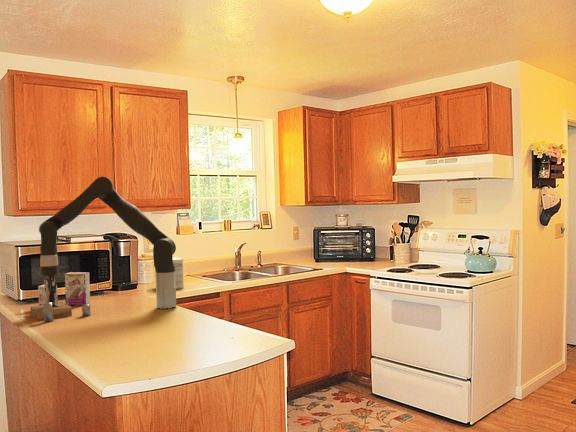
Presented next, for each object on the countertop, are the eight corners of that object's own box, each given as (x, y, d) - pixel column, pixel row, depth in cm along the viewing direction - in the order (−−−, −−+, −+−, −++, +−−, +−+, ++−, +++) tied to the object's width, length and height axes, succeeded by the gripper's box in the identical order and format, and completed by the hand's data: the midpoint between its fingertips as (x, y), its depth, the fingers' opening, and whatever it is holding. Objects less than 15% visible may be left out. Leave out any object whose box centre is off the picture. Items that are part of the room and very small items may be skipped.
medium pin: (53, 321, 222) (52, 303, 222) (44, 322, 220) (43, 304, 220) (52, 319, 225) (51, 301, 225) (43, 321, 223) (42, 303, 223)
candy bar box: (65, 305, 258) (63, 273, 258) (70, 303, 263) (69, 272, 262) (86, 305, 257) (84, 273, 256) (90, 303, 262) (89, 271, 261)
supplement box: (157, 287, 311) (156, 258, 310) (179, 285, 316) (178, 257, 316) (161, 290, 299) (160, 260, 298) (184, 288, 304) (183, 258, 304)
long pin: (56, 310, 235) (55, 284, 235) (47, 311, 233) (46, 285, 232) (54, 309, 238) (53, 284, 237) (45, 310, 235) (44, 284, 235)
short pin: (91, 315, 232) (91, 304, 232) (83, 316, 230) (83, 305, 230) (89, 314, 235) (88, 303, 235) (81, 315, 233) (80, 304, 233)
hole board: (72, 315, 233) (71, 306, 233) (38, 320, 225) (38, 311, 224) (62, 310, 246) (62, 302, 246) (30, 315, 237) (30, 306, 237)
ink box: (38, 309, 251) (37, 285, 251) (47, 307, 255) (46, 283, 255) (49, 310, 247) (48, 286, 247) (58, 308, 251) (57, 284, 251)
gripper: (62, 265, 231) (63, 302, 232) (54, 262, 243) (55, 298, 243) (44, 266, 227) (45, 305, 227) (37, 264, 238) (38, 300, 238)
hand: (50, 301), depth 235 cm, fingers closed on long pin, 3 cm apart
